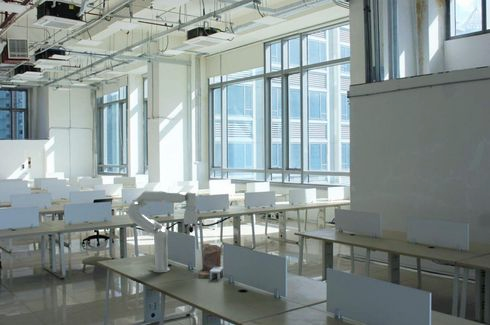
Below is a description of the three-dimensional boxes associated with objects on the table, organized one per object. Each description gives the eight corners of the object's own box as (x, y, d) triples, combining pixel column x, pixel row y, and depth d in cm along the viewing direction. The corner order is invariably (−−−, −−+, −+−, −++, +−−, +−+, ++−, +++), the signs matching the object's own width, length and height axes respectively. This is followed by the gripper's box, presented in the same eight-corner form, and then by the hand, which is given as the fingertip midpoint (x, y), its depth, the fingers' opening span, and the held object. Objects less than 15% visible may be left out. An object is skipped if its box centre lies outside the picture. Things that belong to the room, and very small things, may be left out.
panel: (198, 278, 377) (198, 274, 377) (200, 275, 385) (200, 271, 385) (217, 278, 375) (217, 274, 375) (219, 275, 383) (219, 271, 383)
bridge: (209, 279, 371) (209, 271, 371) (214, 274, 385) (214, 266, 384) (219, 279, 370) (219, 271, 370) (223, 274, 384) (223, 266, 383)
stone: (198, 270, 399) (197, 243, 398) (207, 267, 407) (207, 241, 406) (216, 273, 387) (216, 246, 387) (225, 270, 396) (225, 244, 395)
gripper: (179, 208, 395) (180, 232, 396) (199, 209, 392) (199, 233, 393) (183, 207, 402) (183, 231, 403) (201, 208, 399) (201, 231, 400)
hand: (191, 232), depth 398 cm, fingers closed
